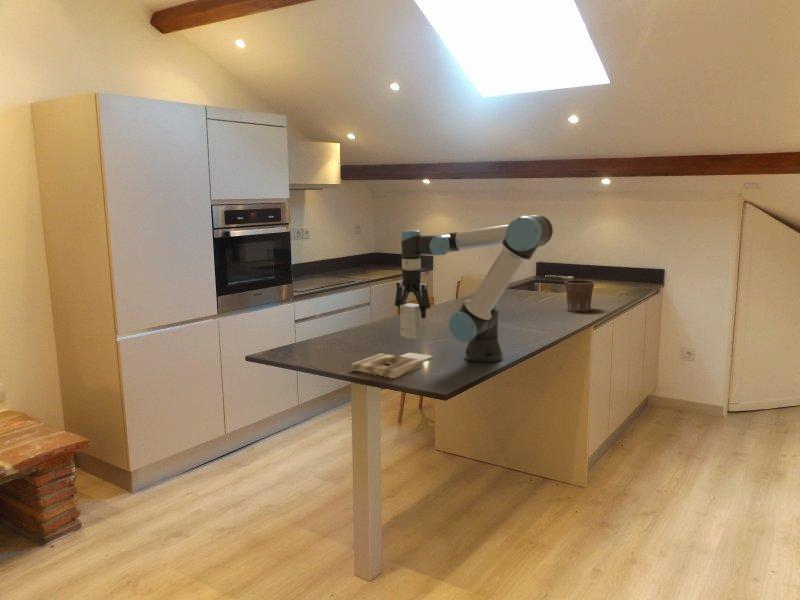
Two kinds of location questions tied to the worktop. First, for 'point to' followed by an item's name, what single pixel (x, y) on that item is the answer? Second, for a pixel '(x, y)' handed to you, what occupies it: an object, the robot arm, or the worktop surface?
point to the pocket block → (394, 370)
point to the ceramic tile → (417, 356)
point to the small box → (411, 321)
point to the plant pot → (579, 295)
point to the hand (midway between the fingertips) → (412, 324)
